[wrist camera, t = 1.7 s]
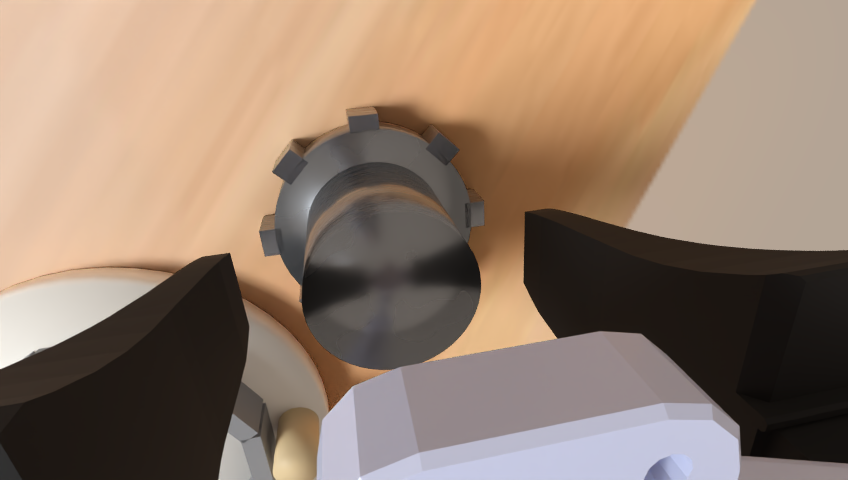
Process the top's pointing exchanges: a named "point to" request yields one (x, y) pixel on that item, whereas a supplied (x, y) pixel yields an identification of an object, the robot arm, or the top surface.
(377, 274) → the planet gear
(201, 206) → the top surface
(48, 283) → the plate
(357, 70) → the top surface
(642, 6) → the top surface
